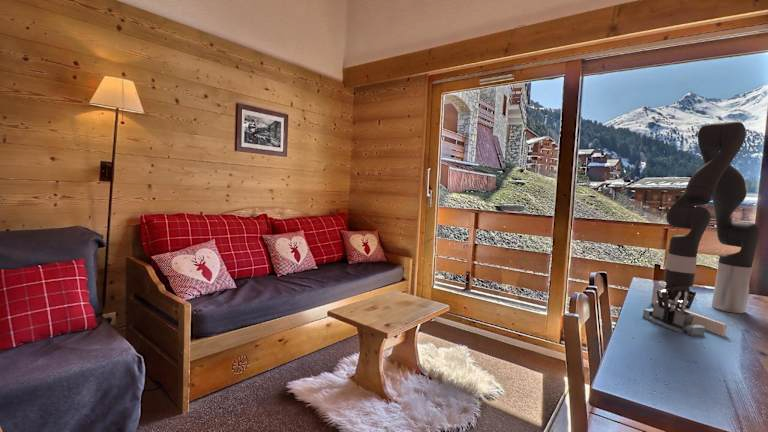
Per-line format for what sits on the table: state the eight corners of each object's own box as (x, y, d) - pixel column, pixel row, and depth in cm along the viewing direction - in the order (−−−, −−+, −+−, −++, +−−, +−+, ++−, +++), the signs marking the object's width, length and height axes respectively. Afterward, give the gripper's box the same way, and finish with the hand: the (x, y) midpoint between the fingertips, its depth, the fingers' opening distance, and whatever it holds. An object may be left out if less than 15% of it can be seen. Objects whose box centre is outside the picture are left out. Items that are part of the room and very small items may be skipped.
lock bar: (659, 314, 128) (663, 301, 127) (689, 330, 118) (694, 315, 117) (651, 315, 127) (655, 301, 126) (681, 330, 117) (685, 316, 116)
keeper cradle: (657, 315, 131) (658, 308, 130) (707, 335, 115) (709, 327, 115) (639, 316, 129) (640, 309, 128) (688, 336, 113) (689, 328, 113)
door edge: (667, 314, 133) (669, 304, 133) (725, 335, 116) (727, 324, 116) (664, 314, 133) (665, 304, 132) (721, 335, 116) (723, 324, 115)
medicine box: (675, 312, 136) (678, 288, 135) (661, 310, 137) (664, 287, 136) (663, 305, 144) (667, 282, 143) (650, 303, 145) (653, 281, 144)
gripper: (684, 266, 126) (677, 316, 127) (651, 266, 122) (644, 318, 124) (709, 272, 119) (701, 325, 120) (674, 272, 115) (666, 327, 116)
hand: (672, 321), depth 122 cm, fingers open, 3 cm apart
